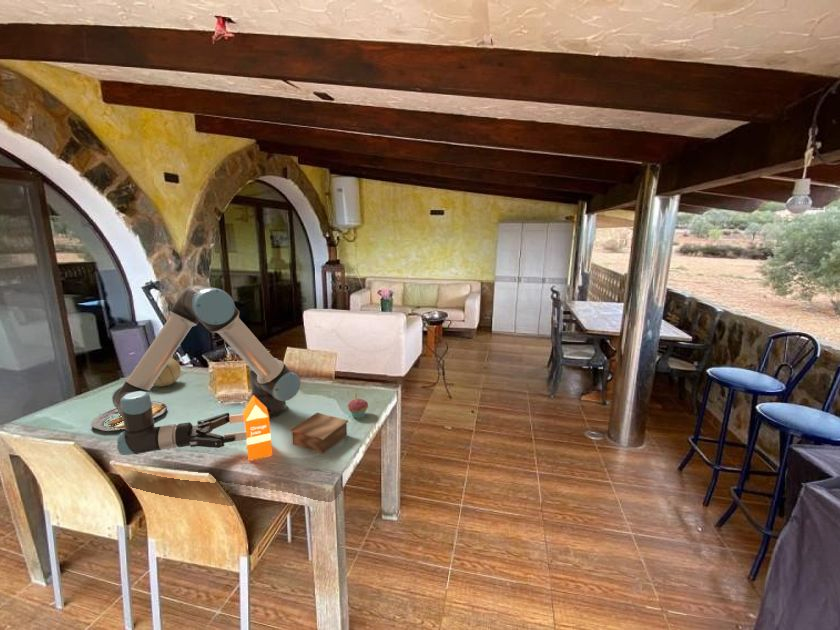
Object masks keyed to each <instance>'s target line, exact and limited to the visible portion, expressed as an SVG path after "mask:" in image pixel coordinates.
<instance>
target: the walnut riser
mask: <svg viewBox="0 0 840 630" xmlns="http://www.w3.org/2000/svg"><path fill="white" fill-rule="evenodd" d="M348 423H349V420H348V419H345V418H340V417H336V416H332V415H328V414H324V413H320V412H316V413H314V414H312V415H310V416H309V417H307V418H306V419H305V420H303V421H301V422H299V423H297V424H296V425H295V426H293V427H291V428H290V429H289V431H290V432H291V437H292V440H291V441H292V445H294V446H298V447H301V448H304V449H307V450H310V451H313V452H316V453H320V454H325V453H326V452H328V451H329V450H330V449H331V448H332V447H334V446H335V445H336V444H337V443H338V442H339V443H340V441H341V440H343V439H344V438H345V437H346V436H348V433H347V432H348V431H347V430H348V428H347V426H348V425H347V424H348Z"/></svg>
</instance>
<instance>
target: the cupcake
mask: <svg viewBox="0 0 840 630" xmlns="http://www.w3.org/2000/svg"><path fill="white" fill-rule="evenodd" d="M357 393H358V392H357V391H354V396H355V399H352V400H351V401H350V402H348V404H347V409H348V411H350V412H351V415H352V417H353V418H354V419H361V418H363V417H364V416H365V413H366V411H367V410H368V408H369V404H368V402H367V400H364V399H362V398H358V395H357Z"/></svg>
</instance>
